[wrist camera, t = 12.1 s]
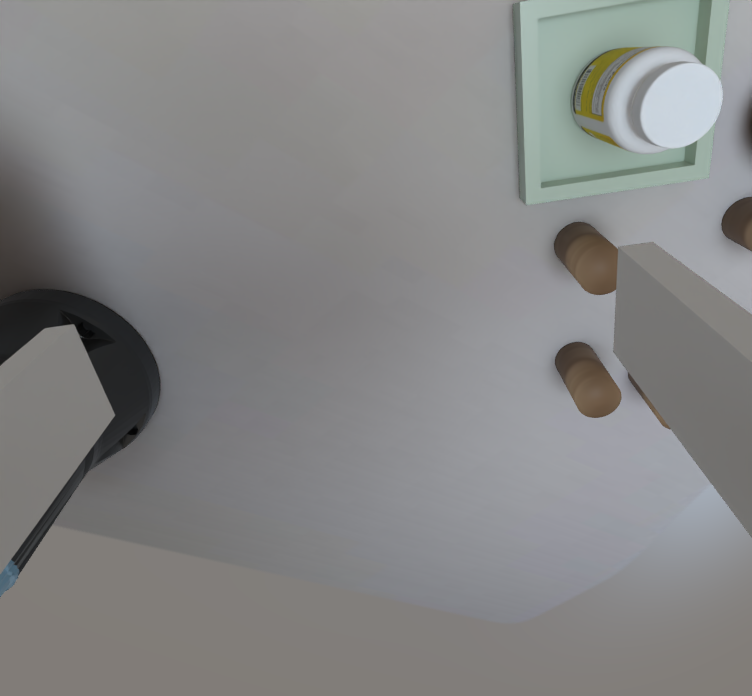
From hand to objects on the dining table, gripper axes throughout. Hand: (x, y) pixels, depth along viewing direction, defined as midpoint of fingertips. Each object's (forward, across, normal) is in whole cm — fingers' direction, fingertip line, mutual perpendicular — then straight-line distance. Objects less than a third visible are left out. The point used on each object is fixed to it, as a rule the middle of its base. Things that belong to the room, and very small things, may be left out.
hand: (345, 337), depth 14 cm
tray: (+29, +16, +1) cm, 33 cm away
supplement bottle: (+28, +16, +1) cm, 32 cm away
